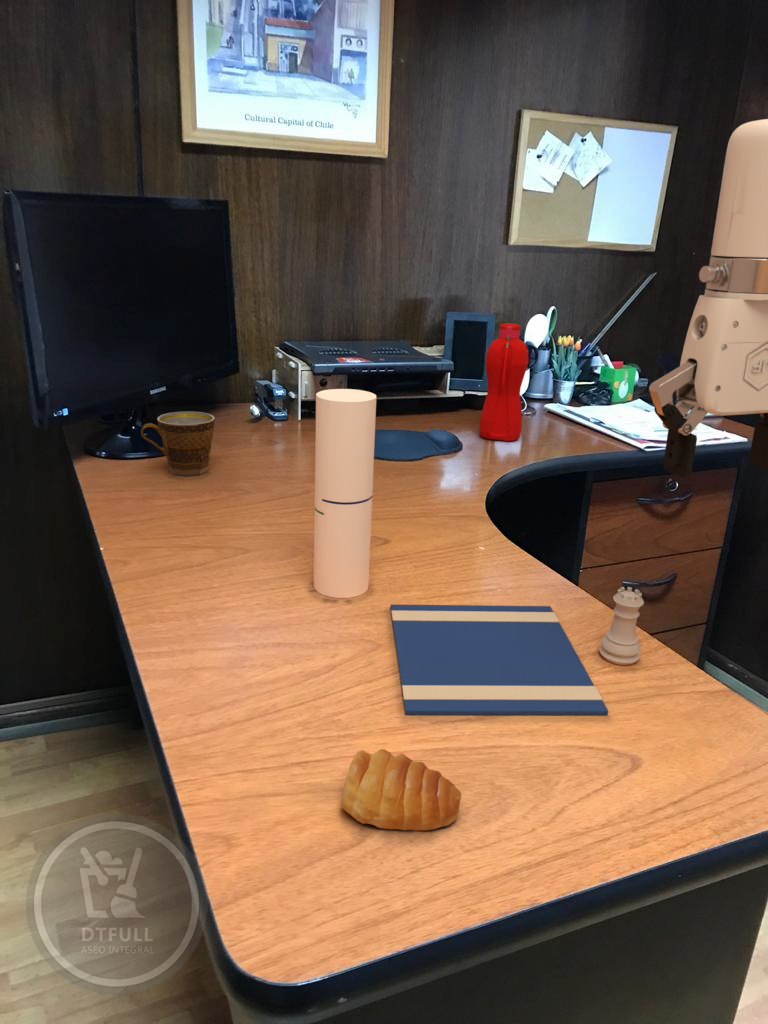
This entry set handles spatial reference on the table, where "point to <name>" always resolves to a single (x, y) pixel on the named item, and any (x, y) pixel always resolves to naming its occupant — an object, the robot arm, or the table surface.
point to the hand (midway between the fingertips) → (720, 469)
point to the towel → (489, 662)
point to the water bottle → (504, 385)
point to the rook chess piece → (623, 629)
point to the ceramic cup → (185, 441)
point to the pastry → (398, 793)
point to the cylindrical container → (343, 491)
